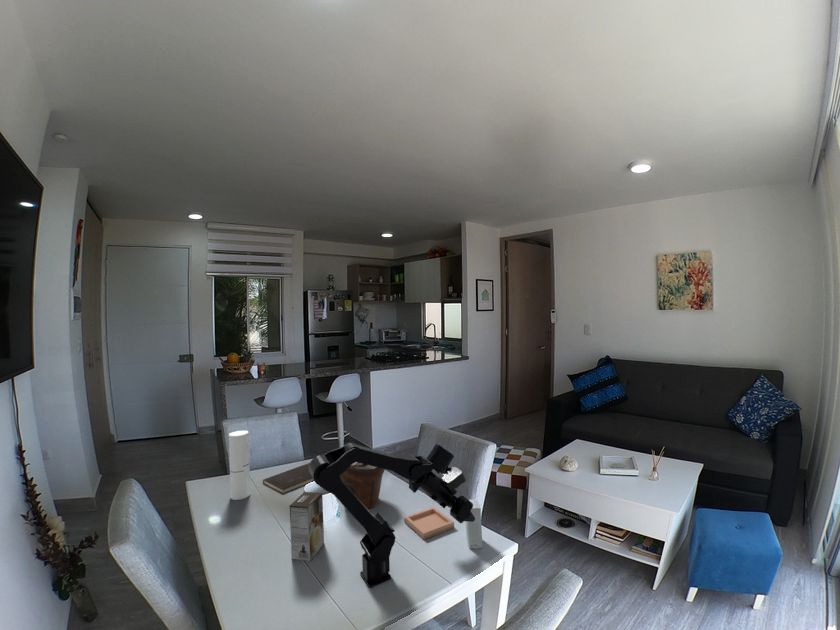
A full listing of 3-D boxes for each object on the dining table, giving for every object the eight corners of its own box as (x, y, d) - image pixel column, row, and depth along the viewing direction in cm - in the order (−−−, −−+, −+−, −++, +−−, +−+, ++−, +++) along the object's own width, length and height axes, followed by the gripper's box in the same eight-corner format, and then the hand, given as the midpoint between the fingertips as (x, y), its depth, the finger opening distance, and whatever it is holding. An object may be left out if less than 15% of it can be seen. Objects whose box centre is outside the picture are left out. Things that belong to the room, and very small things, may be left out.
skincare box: (483, 548, 118) (482, 508, 118) (468, 549, 118) (467, 509, 117) (479, 536, 124) (478, 498, 124) (465, 537, 124) (464, 499, 124)
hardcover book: (329, 475, 175) (329, 470, 175) (282, 495, 157) (282, 489, 157) (309, 467, 185) (309, 462, 185) (262, 484, 167) (262, 478, 167)
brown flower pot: (392, 490, 157) (390, 446, 157) (378, 517, 137) (375, 466, 137) (349, 489, 160) (347, 445, 160) (330, 514, 140) (327, 465, 140)
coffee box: (305, 541, 124) (304, 490, 124) (324, 543, 122) (323, 492, 122) (290, 559, 115) (289, 505, 115) (310, 561, 113) (309, 506, 113)
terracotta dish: (423, 539, 123) (423, 533, 123) (404, 522, 133) (404, 517, 133) (454, 527, 129) (454, 521, 129) (433, 512, 139) (433, 506, 139)
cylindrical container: (254, 493, 157) (252, 432, 157) (237, 501, 151) (235, 437, 151) (243, 489, 161) (241, 429, 161) (226, 497, 155) (225, 434, 155)
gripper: (466, 473, 108) (499, 502, 114) (433, 452, 125) (463, 478, 130) (442, 508, 105) (477, 537, 110) (412, 482, 122) (443, 508, 127)
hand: (465, 513), depth 119 cm, fingers open, 9 cm apart
